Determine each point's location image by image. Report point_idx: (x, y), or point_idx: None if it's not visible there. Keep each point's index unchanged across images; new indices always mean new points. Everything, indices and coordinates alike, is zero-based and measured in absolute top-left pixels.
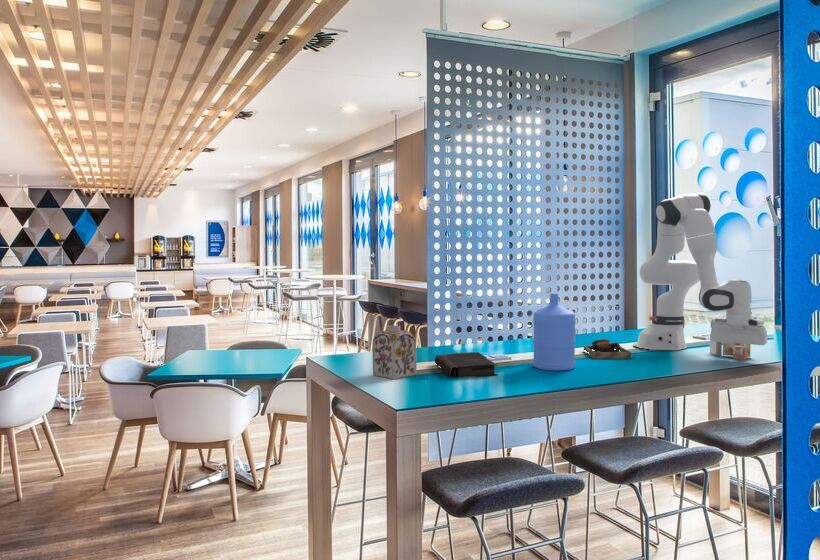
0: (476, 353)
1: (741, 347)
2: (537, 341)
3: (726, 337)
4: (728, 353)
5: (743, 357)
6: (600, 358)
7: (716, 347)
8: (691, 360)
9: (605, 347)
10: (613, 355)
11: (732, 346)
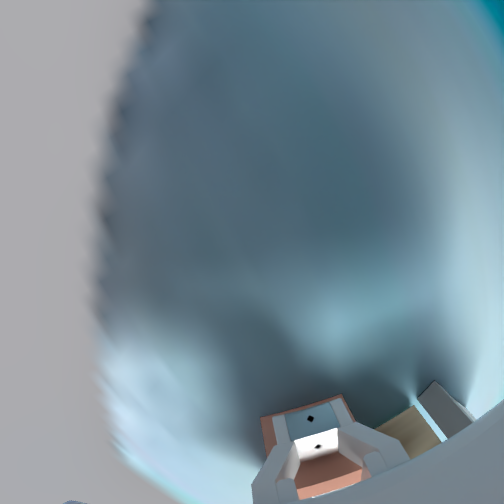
0: None
1: (304, 485)
2: None
3: (481, 471)
4: (390, 431)
5: (272, 426)
6: None
7: (467, 415)
8: (483, 94)
9: None
10: None
11: (375, 441)
